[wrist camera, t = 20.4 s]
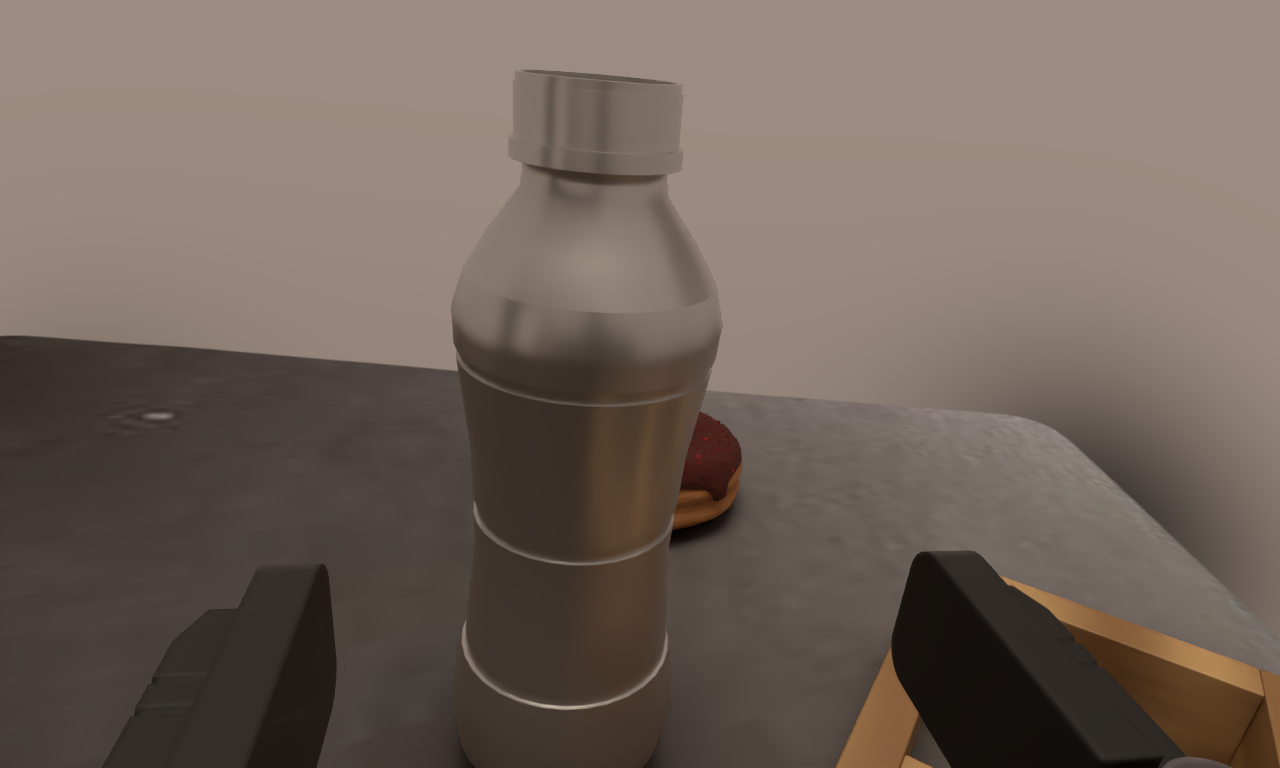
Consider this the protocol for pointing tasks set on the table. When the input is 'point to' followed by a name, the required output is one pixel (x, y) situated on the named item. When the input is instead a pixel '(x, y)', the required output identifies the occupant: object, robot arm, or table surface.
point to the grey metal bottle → (578, 426)
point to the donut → (708, 474)
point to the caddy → (1143, 666)
